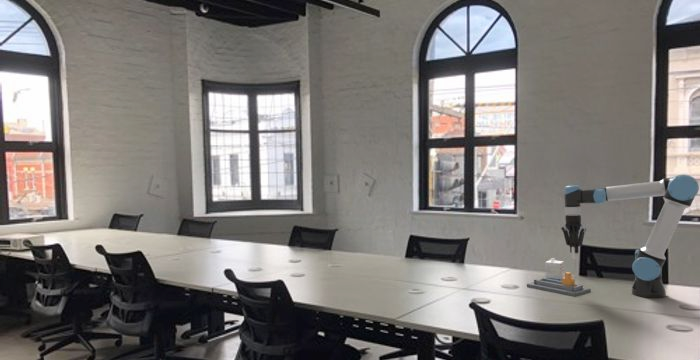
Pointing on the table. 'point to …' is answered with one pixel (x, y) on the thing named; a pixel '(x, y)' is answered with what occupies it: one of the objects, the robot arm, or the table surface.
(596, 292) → the table surface
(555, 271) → the ink box
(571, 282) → the toggle
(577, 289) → the panel
